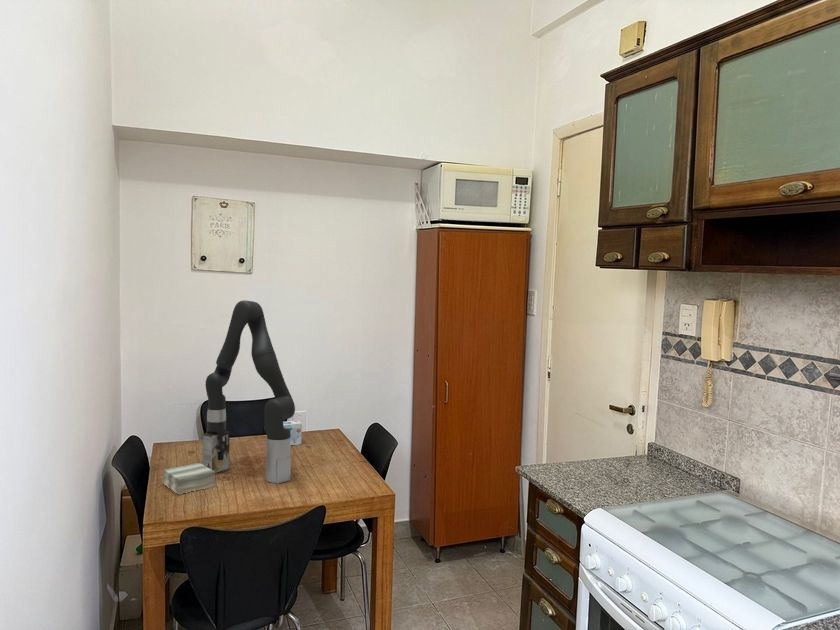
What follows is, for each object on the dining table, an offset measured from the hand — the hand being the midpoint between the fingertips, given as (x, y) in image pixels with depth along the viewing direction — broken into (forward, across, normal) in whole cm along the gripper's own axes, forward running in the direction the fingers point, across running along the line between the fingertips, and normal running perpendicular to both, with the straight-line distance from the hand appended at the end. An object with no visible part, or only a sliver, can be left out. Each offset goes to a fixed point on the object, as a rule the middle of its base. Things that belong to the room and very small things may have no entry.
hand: (216, 457), depth 245 cm
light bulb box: (+6, +14, -44) cm, 46 cm away
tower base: (+5, -11, +16) cm, 20 cm away
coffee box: (+6, 0, 0) cm, 6 cm away
